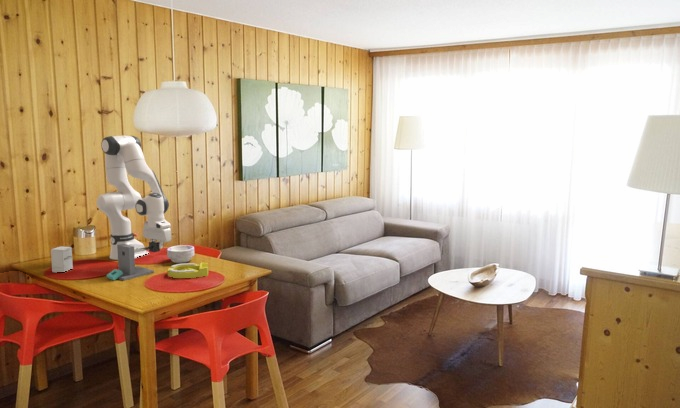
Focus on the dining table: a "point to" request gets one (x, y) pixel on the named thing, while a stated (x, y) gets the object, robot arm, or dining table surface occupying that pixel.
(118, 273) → the teal flat block
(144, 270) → the bearing stand
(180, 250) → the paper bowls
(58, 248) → the supplement box
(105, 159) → the robot arm
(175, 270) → the ashtray
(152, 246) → the shaft
